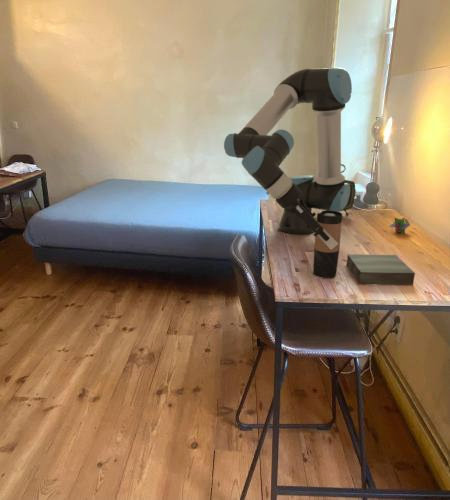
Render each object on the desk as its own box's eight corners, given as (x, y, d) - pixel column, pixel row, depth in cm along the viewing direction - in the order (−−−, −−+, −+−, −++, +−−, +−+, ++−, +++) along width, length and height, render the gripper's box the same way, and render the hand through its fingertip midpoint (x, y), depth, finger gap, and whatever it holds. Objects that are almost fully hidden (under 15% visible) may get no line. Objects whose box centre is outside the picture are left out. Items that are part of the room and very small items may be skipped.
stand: (346, 265, 144) (347, 254, 142) (394, 266, 143) (395, 254, 142) (359, 284, 128) (361, 272, 127) (412, 285, 128) (415, 272, 127)
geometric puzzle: (400, 231, 174) (408, 215, 175) (385, 228, 179) (393, 211, 180) (406, 239, 179) (414, 222, 180) (391, 235, 184) (399, 219, 185)
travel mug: (339, 278, 132) (345, 216, 126) (314, 278, 133) (319, 216, 126) (333, 269, 140) (339, 210, 133) (310, 269, 140) (314, 210, 133)
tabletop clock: (328, 219, 201) (332, 166, 193) (316, 215, 209) (320, 163, 201) (352, 216, 206) (358, 164, 198) (340, 212, 214) (345, 162, 206)
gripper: (271, 191, 140) (313, 235, 145) (278, 209, 117) (328, 261, 121) (288, 175, 138) (330, 221, 143) (299, 190, 115) (349, 244, 119)
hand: (329, 239), depth 132 cm, fingers open, 13 cm apart
